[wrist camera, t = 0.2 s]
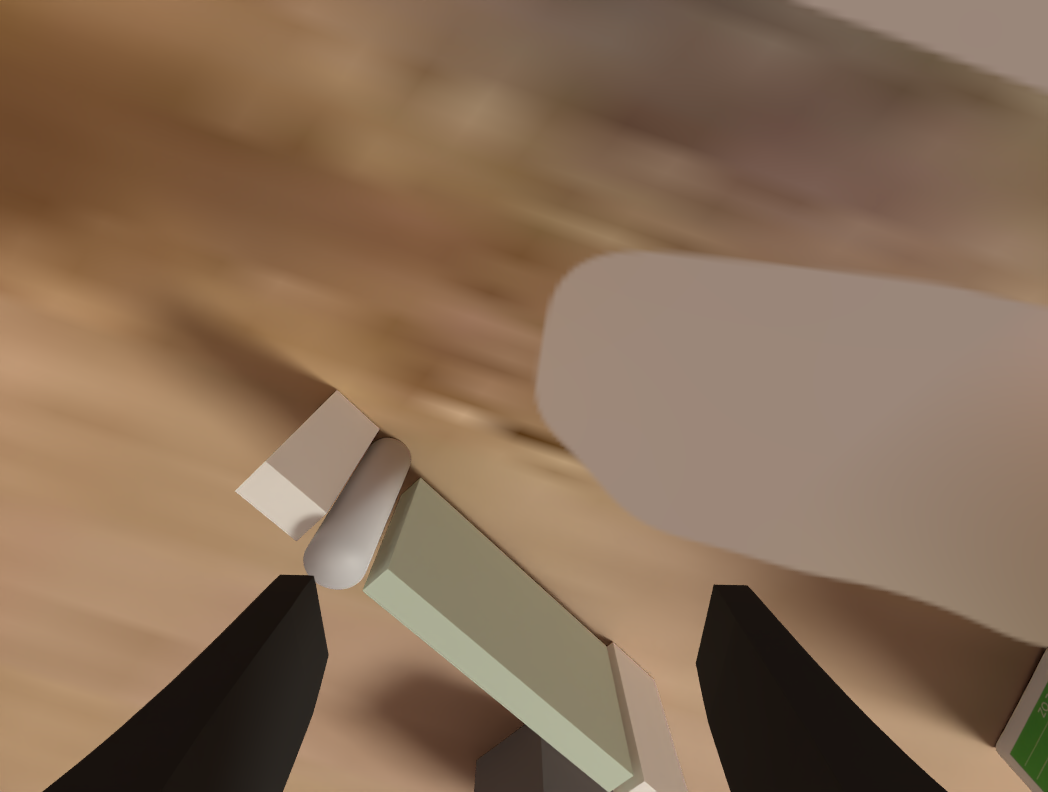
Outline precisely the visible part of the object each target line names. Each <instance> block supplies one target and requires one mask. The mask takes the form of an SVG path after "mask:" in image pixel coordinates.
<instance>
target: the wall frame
mask: <svg viewBox="0 0 1048 792" xmlns="http://www.w3.org/2000/svg"><path fill="white" fill-rule="evenodd" d="M378 431H379V428H378V427H377V426H376V425H375V424H374V423H373V422H372V421H371V420H369V419H368V418H367V417H366V416H365V415H364V414H363V413H362V412H361V411H360V410H359V409H357V408H356V407H355V406H354V405H353V404H352V403H351V402H350V401H349V400H348V399H347V398H345V397H344V396H343V395H342V394H341V393H340V392H339V391H338V390H336V391H335V392H334V393H333V394H332V395H331V396H330V397H329V398H328V399H327V400H326V401H325V402H324V403H323V404H322V405H321V406H320V407H319V408H318V409H317V410H316V411H315V412H314V413H313V414H312V415H311V416H310V417H309V418H308V419H307V420H306V421H305V422H304V423H303V424H302V425H301V426H300V427H299V428H298V429H297V430H296V431H295V432H294V433H293V434H292V435H291V436H290V437H289V438H288V439H287V440H286V441H285V442H284V443H283V444H282V445H281V446H280V447H279V448H278V449H277V450H276V451H275V452H274V453H273V454H272V455H271V456H270V457H269V458H268V459H267V460H266V461H265V462H264V463H263V464H262V465H261V466H260V467H259V468H258V469H257V470H256V471H255V472H254V473H253V474H252V475H251V476H250V477H249V478H248V479H247V480H246V481H245V482H244V483H243V484H242V485H241V486H240V487H239V488H238V489H237V490H236V491H235V492H237V493H238V494H239V495H240V496H242V497H243V498H244V499H245V500H246V501H248V502H249V503H250V504H251V505H253V506H254V507H255V508H256V509H257V510H259V511H260V512H261V513H262V514H264V515H265V516H266V517H267V518H268V519H270V520H271V521H272V522H273V523H275V524H276V525H277V526H278V527H280V528H281V529H282V530H283V531H284V532H286V533H287V534H288V535H289V536H291V537H292V538H293V539H294V540H295V541H297V540H298V539H300V538H301V537H302V536H303V535H304V534H305V533H306V532H307V531H308V530H309V529H310V528H311V527H312V526H314V525H315V524H316V523H317V522H318V521H319V520H320V519H321V518H322V517H323V516H324V515H325V514H326V513H327V512H328V511H329V509H330V507H331V506H332V504H333V503H334V501H335V499H336V498H337V496H338V495H339V493H340V491H341V490H342V488H343V487H344V485H345V483H346V482H347V480H348V479H349V477H350V476H351V474H352V472H353V471H354V469H355V468H356V466H357V464H358V463H359V461H360V460H361V458H362V456H363V455H364V453H365V452H366V450H367V448H368V447H369V445H370V444H371V442H372V441H373V439H374V437H375V436H376V434H377V433H378ZM410 464H411V454H410V452H409V450H408V448H407V447H406V446H405V444H403V443H402V442H401V441H399V440H397V439H393V438H382V439H379V440H377V441H375V442H374V443H373V444H372V445H371V446H370V447H369V449H368V450H367V452H366V454H365V455H364V457H363V458H362V460H361V462H360V463H359V465H358V466H357V468H356V470H355V471H354V473H353V474H352V476H351V478H350V479H349V481H348V483H347V484H346V486H345V487H344V489H343V491H342V492H341V494H340V495H339V497H338V499H337V500H336V502H335V503H334V505H333V507H332V508H331V510H330V511H329V513H328V515H327V516H326V518H325V519H324V521H323V523H322V524H321V526H320V527H319V529H318V531H317V532H316V534H315V535H314V537H313V539H312V540H311V542H310V544H309V545H308V547H307V548H306V550H305V553H304V558H303V562H304V567H305V570H306V572H307V573H308V575H311V576H314V578H315V582H316V583H318V584H319V585H321V586H323V587H326V588H329V589H346V588H350V587H352V586H354V585H356V584H357V583H358V582H360V581H361V579H362V578H363V577H364V575H365V573H366V570H367V568H368V566H369V563H370V561H371V558H372V556H373V554H374V551H375V549H376V546H377V544H378V542H379V539H380V537H381V534H382V532H383V530H384V527H385V525H386V522H387V520H388V518H389V515H390V513H391V510H392V508H393V506H394V503H395V501H396V498H397V496H398V494H399V491H400V489H401V486H402V484H403V482H404V479H405V477H406V474H407V472H408V470H409V467H410ZM607 651H608V656H609V660H610V665H611V670H612V675H613V679H614V684H615V689H616V694H617V699H618V703H619V708H620V713H621V718H622V722H623V727H624V732H625V737H626V741H627V746H628V751H629V756H630V761H631V765H632V770H633V775H634V776H633V777H631V778H630V779H628V780H627V781H625V782H624V783H622V784H621V785H619V786H618V787H617V788H615V789H614V790H613V792H688V790H687V787H686V783H685V780H684V777H683V773H682V770H681V767H680V763H679V760H678V756H677V753H676V750H675V746H674V743H673V740H672V736H671V733H670V730H669V726H668V723H667V720H666V716H665V713H664V709H663V706H662V703H661V699H660V696H659V693H658V689H657V686H656V683H655V680H654V679H653V678H652V677H651V676H650V675H648V674H647V673H646V672H645V671H644V670H643V669H642V668H641V667H640V666H639V665H638V664H636V663H635V662H634V661H633V660H632V659H631V658H630V657H629V656H628V655H627V654H626V653H624V652H623V651H622V650H621V649H620V648H619V647H618V646H617V645H616V644H615V643H613V642H612V643H611V644H610V645H608V646H607Z"/></svg>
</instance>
